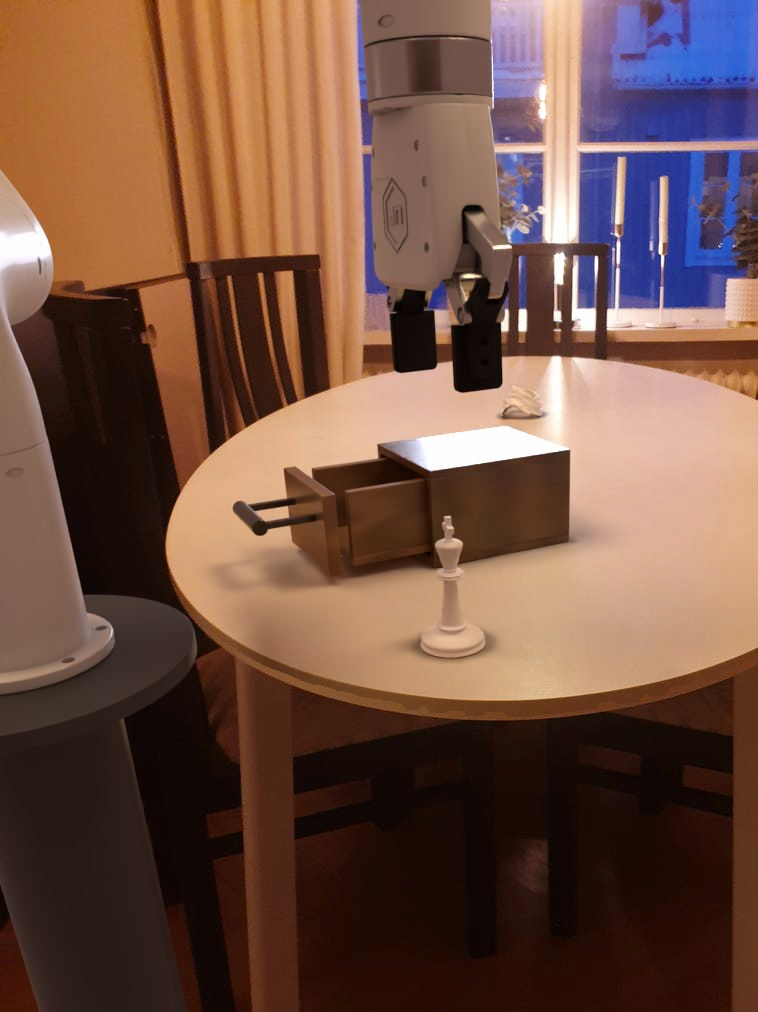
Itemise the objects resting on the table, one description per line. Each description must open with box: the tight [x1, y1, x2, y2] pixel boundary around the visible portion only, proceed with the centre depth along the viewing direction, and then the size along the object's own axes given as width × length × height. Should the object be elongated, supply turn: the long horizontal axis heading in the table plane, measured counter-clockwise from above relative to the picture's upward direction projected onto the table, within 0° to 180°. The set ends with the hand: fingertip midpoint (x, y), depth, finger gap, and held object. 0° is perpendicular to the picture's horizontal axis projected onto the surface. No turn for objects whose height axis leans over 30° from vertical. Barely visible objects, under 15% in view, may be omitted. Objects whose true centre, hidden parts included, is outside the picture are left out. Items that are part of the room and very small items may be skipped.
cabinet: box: [376, 425, 571, 569], centre depth 92 cm, size 15×13×9 cm
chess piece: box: [420, 516, 486, 659], centre depth 68 cm, size 5×5×10 cm
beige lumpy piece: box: [500, 385, 544, 417], centre depth 147 cm, size 8×7×5 cm
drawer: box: [232, 457, 430, 578], centre depth 86 cm, size 19×11×7 cm, turn 117°
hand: (445, 379), depth 62 cm, fingers open, 9 cm apart
